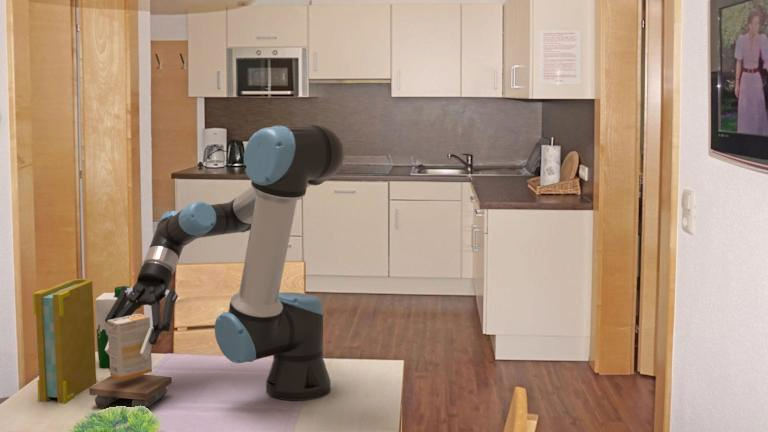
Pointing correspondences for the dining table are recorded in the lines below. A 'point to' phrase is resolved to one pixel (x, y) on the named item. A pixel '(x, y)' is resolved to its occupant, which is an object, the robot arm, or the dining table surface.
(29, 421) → the dining table surface
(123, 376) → the supplement box
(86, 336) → the book
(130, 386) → the slab
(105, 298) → the milk carton
